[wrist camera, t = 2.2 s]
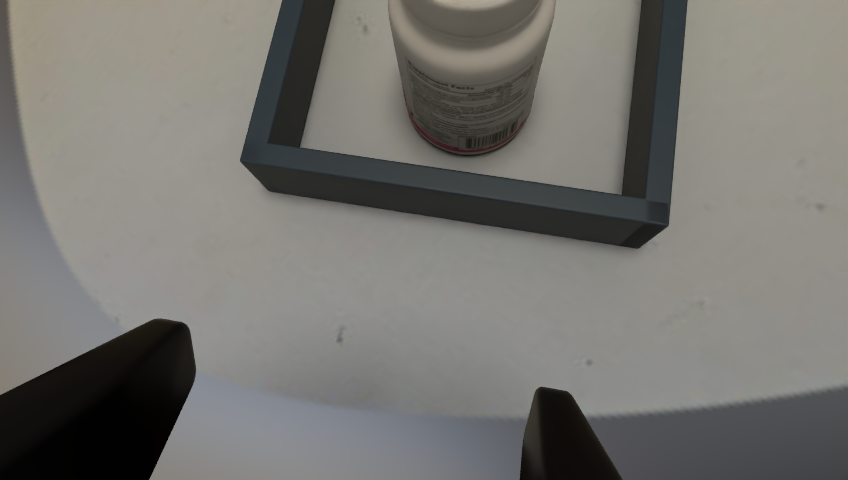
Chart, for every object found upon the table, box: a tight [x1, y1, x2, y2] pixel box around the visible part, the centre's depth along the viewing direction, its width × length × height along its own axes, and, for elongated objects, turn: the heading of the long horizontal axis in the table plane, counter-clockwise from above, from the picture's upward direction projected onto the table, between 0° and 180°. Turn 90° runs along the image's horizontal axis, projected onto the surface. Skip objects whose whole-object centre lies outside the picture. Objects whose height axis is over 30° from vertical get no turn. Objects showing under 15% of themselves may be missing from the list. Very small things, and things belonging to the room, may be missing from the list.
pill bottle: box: [388, 0, 555, 155], centre depth 18 cm, size 5×5×8 cm
